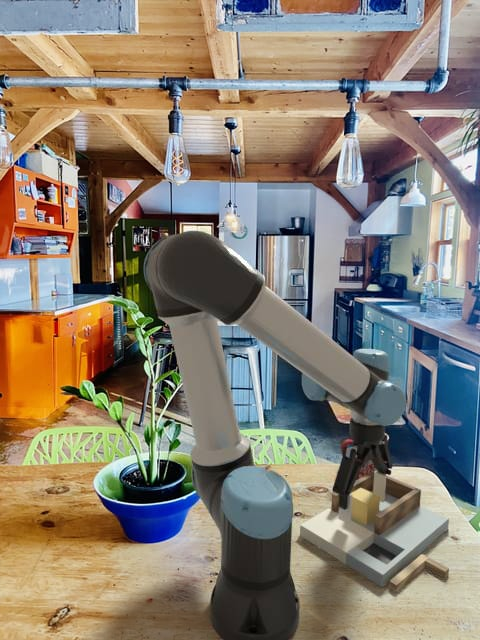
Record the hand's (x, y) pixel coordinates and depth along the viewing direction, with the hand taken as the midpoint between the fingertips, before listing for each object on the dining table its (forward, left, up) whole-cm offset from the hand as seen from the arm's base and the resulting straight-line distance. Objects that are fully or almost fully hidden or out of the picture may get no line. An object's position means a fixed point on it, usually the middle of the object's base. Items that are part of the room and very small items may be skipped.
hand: (362, 509), depth 97 cm
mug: (+19, +12, -4) cm, 23 cm away
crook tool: (-6, -17, -4) cm, 18 cm away
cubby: (+6, 0, -2) cm, 6 cm away
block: (0, 0, -2) cm, 2 cm away
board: (+1, -3, -4) cm, 5 cm away
